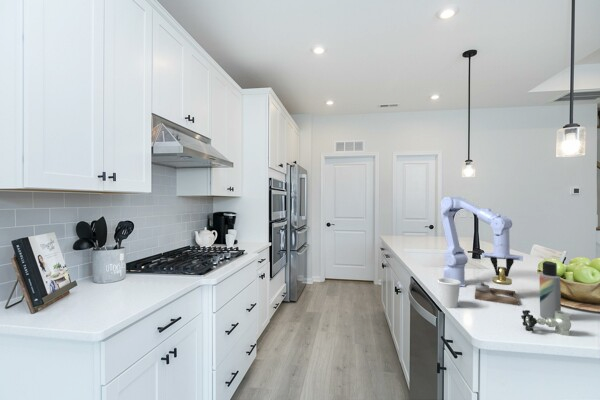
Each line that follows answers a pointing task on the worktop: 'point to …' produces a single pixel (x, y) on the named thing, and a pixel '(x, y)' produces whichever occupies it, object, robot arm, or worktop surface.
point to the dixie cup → (449, 292)
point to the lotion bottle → (549, 290)
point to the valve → (549, 322)
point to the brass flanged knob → (502, 277)
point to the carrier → (485, 294)
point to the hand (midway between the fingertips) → (501, 275)
